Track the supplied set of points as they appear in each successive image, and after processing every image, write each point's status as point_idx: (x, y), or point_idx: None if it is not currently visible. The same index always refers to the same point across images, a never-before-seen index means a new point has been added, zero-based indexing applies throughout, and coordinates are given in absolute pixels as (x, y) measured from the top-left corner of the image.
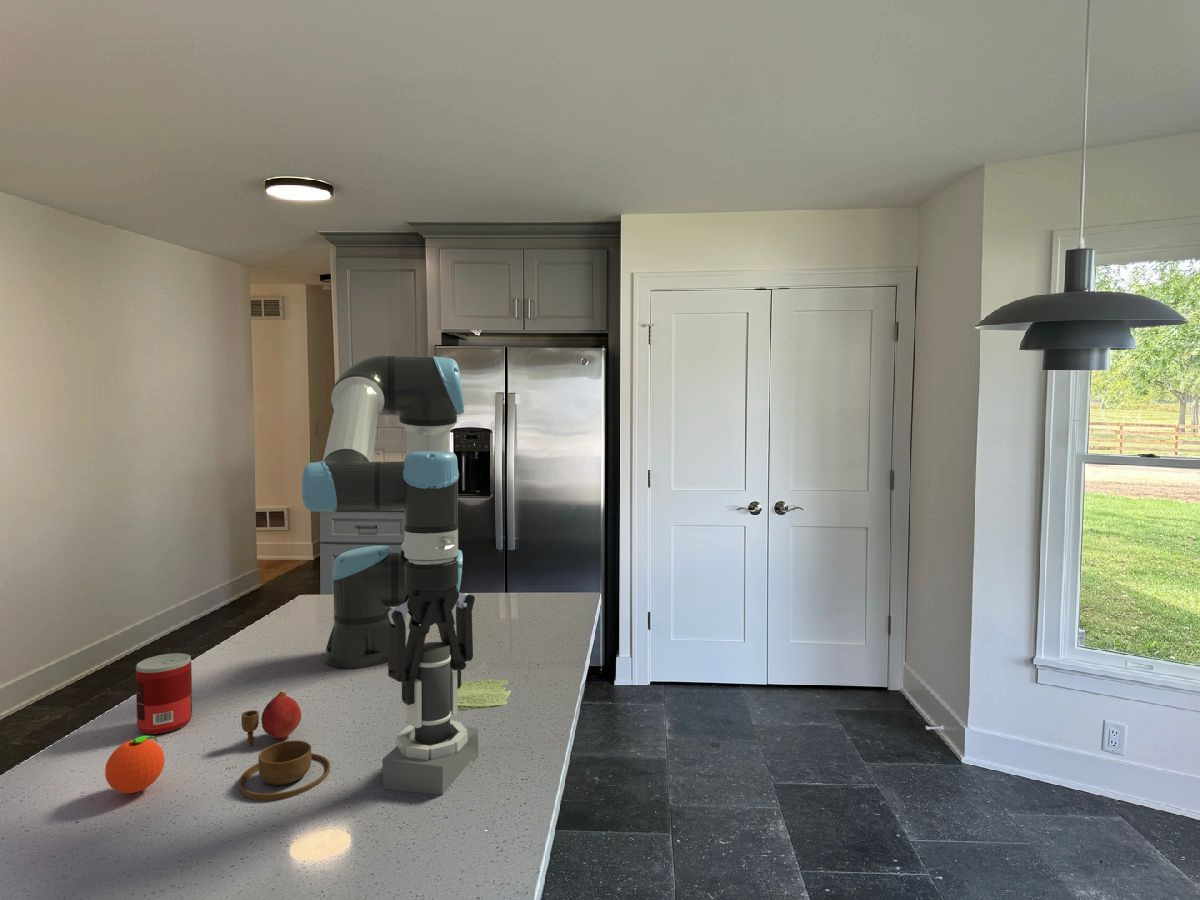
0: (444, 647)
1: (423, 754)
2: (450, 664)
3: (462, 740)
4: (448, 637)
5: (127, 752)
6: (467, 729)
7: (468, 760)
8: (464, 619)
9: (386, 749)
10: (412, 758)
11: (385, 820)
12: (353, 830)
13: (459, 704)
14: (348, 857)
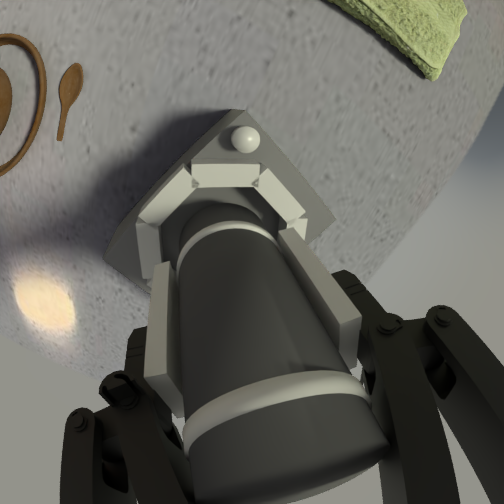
0: (340, 480)
1: None
2: (364, 347)
3: None
4: (383, 499)
5: None
6: (316, 212)
7: None
8: (490, 492)
9: (168, 47)
10: None
11: (115, 295)
12: (75, 296)
13: (373, 8)
14: (75, 338)
